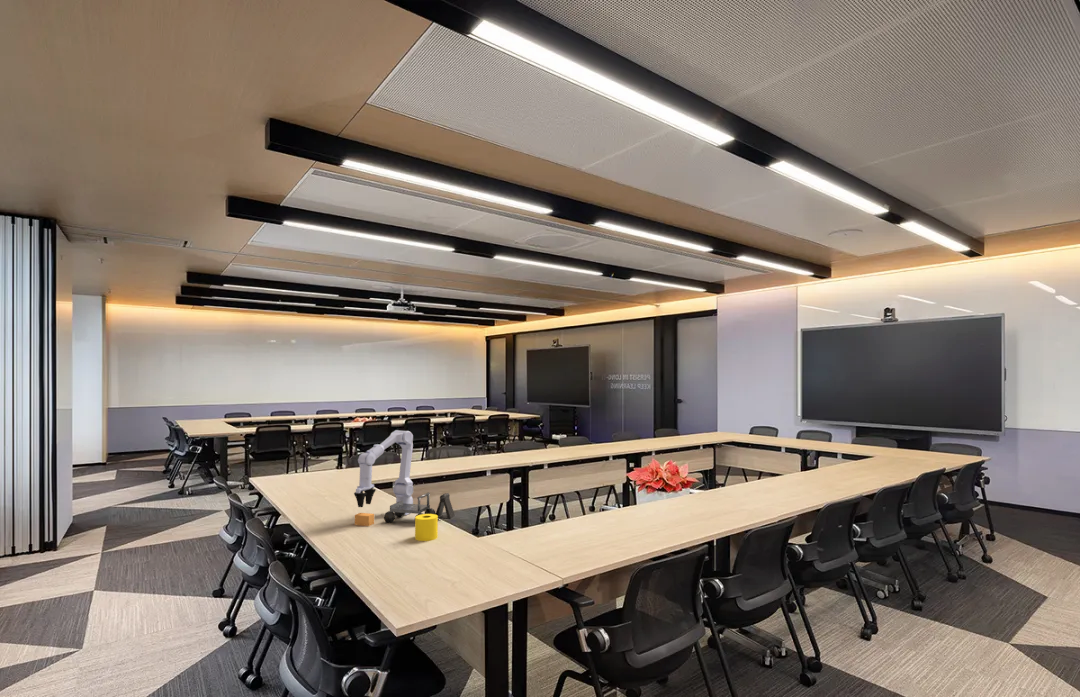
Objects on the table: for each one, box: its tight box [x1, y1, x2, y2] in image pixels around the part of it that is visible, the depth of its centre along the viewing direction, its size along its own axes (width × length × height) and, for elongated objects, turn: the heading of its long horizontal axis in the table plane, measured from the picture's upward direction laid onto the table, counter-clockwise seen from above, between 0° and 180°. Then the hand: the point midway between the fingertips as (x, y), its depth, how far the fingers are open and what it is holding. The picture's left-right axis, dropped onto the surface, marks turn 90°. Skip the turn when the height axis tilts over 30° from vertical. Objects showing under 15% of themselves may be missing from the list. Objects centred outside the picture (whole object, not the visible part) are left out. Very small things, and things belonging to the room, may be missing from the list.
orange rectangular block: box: [354, 512, 375, 527], centre depth 269 cm, size 4×8×5 cm, turn 74°
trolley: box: [383, 492, 436, 524], centre depth 275 cm, size 12×22×14 cm, turn 75°
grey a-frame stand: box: [435, 492, 456, 520], centre depth 282 cm, size 9×6×12 cm, turn 78°
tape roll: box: [414, 513, 439, 542], centre depth 246 cm, size 10×10×9 cm
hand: (364, 505), depth 269 cm, fingers open, 7 cm apart
